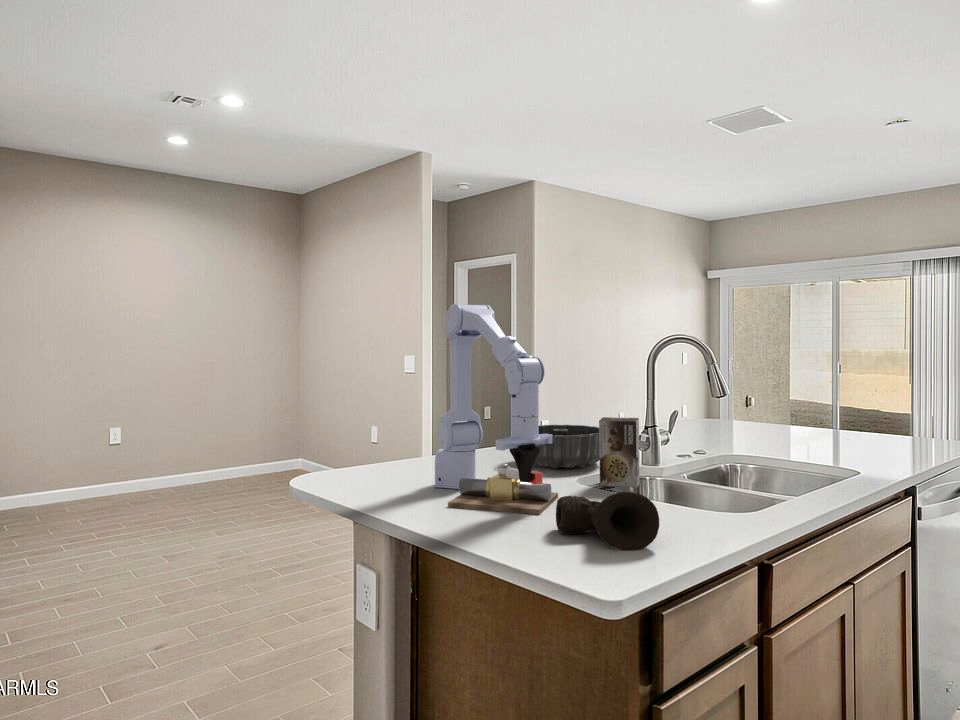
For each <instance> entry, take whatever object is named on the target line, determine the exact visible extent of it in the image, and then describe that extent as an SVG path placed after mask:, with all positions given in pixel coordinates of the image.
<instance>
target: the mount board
mask: <svg viewBox="0 0 960 720" xmlns="http://www.w3.org/2000/svg"><path fill="white" fill-rule="evenodd" d="M558 499H559V493H558V492H552V491H551V498H550V501H542V500H529V499H520V500H513V501H508V500H495V499H490V498H486V496H477V495H464V494H460V495H458V496H456V497H454V498H453V499H451V500H449V501H448V502H447V507H448V508H455V507H456V508H457V509H469V510H470V509H471V510H480V511H491V512H492V511H493V512H505V513H515V514H527V515H539V516H540V515H541V514H542V513H543V512H544V511H546V510H547V508H548V507H549V506H551V505H552V504H553V503H554V502H555V501H556V500H558Z"/></svg>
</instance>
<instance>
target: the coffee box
mask: <svg viewBox="0 0 960 720" xmlns="http://www.w3.org/2000/svg"><path fill="white" fill-rule="evenodd" d="M639 419H640V418H639V417H613V416H612V417H609V416H608V417H602V418H600V419H599V420H598V427H599V451H600V460H599V486H600V487H616V488H617V487H618V488H635V489H637V488H638V487H639V485H640V483H641V482H640V421H639Z"/></svg>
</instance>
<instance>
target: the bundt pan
mask: <svg viewBox="0 0 960 720" xmlns="http://www.w3.org/2000/svg"><path fill="white" fill-rule="evenodd" d="M539 434H552V443H551V444H547V443H546V444H540V445H535V447H539V448H540V453H539V454H538V456H537V458H536V460H535V462H534V464H533V467H542V468H551V467H553V468H555V469H556V470H557V469H559V468H560V467H562V468H565V469H571V468H578V469H580V468H583V467H588V466H591V465H594V464H595V463H598V462H600V451H599V426H595V425H594V426H589V425H583V424H575V425H574V424H542V425H539ZM522 444H526V443H522Z"/></svg>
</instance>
